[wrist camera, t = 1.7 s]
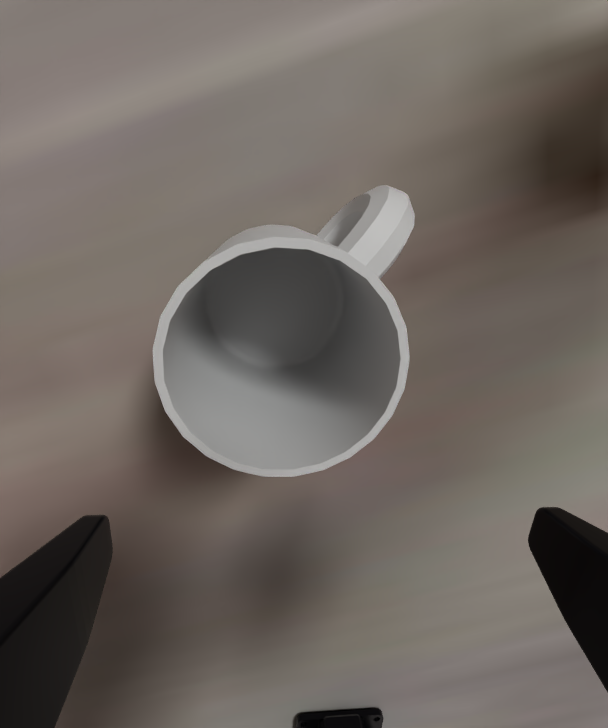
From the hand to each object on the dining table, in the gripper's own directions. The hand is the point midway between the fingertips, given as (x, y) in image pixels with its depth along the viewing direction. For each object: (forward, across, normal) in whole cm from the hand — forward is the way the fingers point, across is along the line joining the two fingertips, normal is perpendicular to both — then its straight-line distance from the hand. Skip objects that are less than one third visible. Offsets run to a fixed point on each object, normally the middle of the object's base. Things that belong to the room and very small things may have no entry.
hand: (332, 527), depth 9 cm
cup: (+13, 0, -3) cm, 14 cm away
